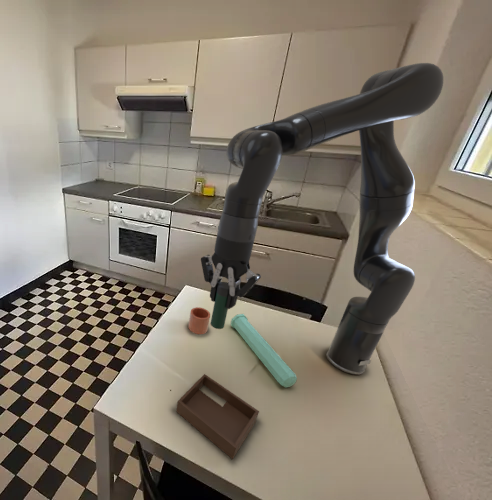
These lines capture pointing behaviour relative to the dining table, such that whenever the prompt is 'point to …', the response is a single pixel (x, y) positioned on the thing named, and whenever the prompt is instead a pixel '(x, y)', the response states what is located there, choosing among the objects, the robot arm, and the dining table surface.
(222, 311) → the marker
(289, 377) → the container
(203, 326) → the pen pot
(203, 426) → the tray
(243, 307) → the dining table surface
